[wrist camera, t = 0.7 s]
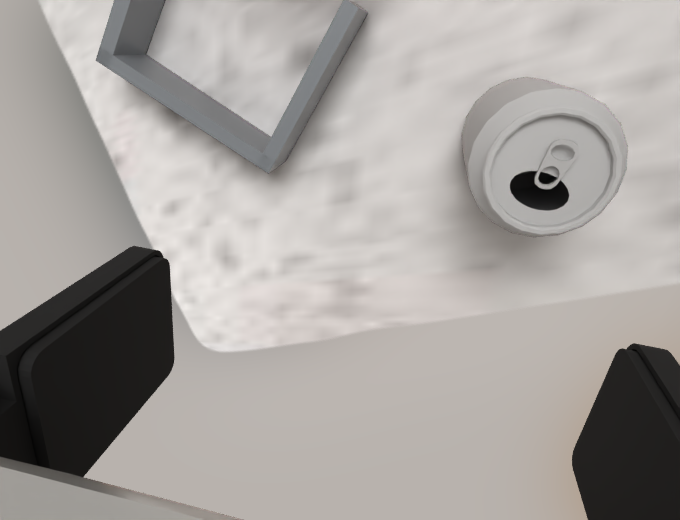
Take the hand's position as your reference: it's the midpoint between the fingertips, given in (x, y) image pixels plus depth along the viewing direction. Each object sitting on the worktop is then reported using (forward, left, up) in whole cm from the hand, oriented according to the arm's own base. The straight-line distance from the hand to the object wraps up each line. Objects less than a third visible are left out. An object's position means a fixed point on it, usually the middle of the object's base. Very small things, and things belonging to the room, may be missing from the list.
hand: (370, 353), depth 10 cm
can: (-4, +5, -28) cm, 28 cm away
